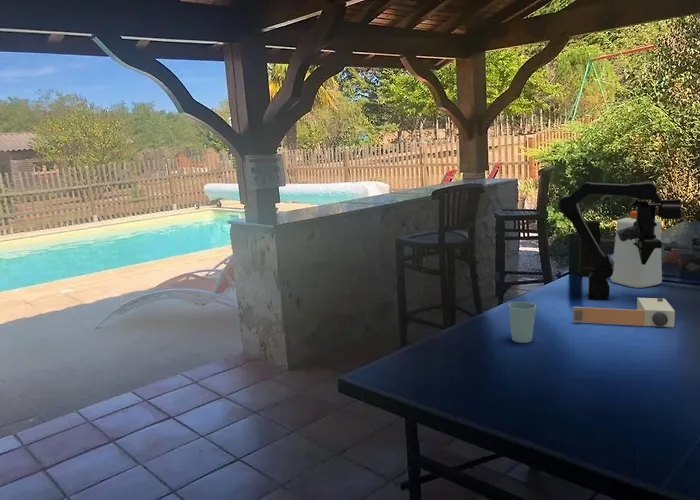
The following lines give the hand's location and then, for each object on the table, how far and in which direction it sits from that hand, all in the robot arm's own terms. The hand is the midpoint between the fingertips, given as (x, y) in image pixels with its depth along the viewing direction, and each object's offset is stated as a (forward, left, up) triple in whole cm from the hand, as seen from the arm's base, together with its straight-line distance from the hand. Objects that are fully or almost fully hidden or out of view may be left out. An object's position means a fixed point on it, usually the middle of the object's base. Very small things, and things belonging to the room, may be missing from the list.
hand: (643, 264), depth 196 cm
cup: (-39, -48, -13) cm, 63 cm away
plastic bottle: (+2, +26, -13) cm, 29 cm away
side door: (-14, -29, -13) cm, 35 cm away
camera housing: (0, -21, -13) cm, 25 cm away
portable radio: (-14, +38, -13) cm, 43 cm away
